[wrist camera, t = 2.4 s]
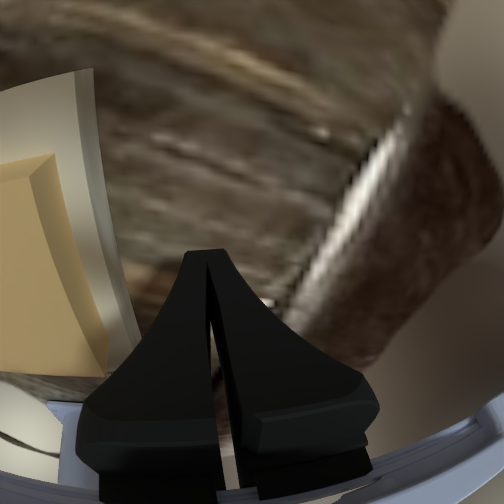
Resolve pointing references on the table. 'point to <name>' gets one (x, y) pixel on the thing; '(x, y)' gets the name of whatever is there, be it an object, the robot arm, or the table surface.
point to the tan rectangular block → (44, 279)
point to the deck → (75, 186)
